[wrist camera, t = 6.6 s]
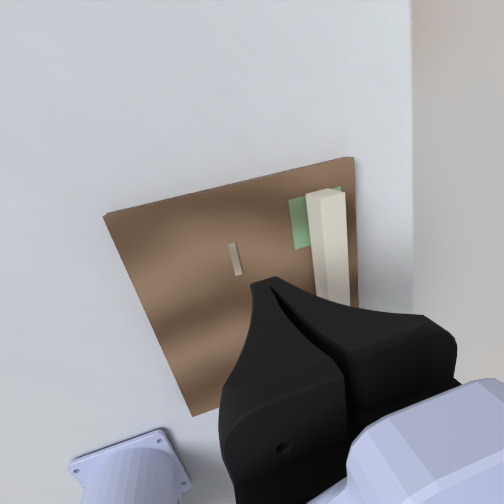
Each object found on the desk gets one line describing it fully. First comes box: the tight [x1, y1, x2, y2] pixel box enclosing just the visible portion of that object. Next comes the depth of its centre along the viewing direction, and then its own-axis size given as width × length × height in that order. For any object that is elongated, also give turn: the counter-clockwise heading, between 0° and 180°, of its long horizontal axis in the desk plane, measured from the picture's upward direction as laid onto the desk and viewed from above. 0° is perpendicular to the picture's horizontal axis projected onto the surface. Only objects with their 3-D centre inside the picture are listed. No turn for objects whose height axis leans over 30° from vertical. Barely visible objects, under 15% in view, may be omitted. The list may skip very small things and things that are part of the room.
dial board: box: [103, 157, 359, 417], centre depth 20 cm, size 18×16×1 cm
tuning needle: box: [305, 188, 350, 306], centre depth 18 cm, size 14×3×3 cm, turn 12°
